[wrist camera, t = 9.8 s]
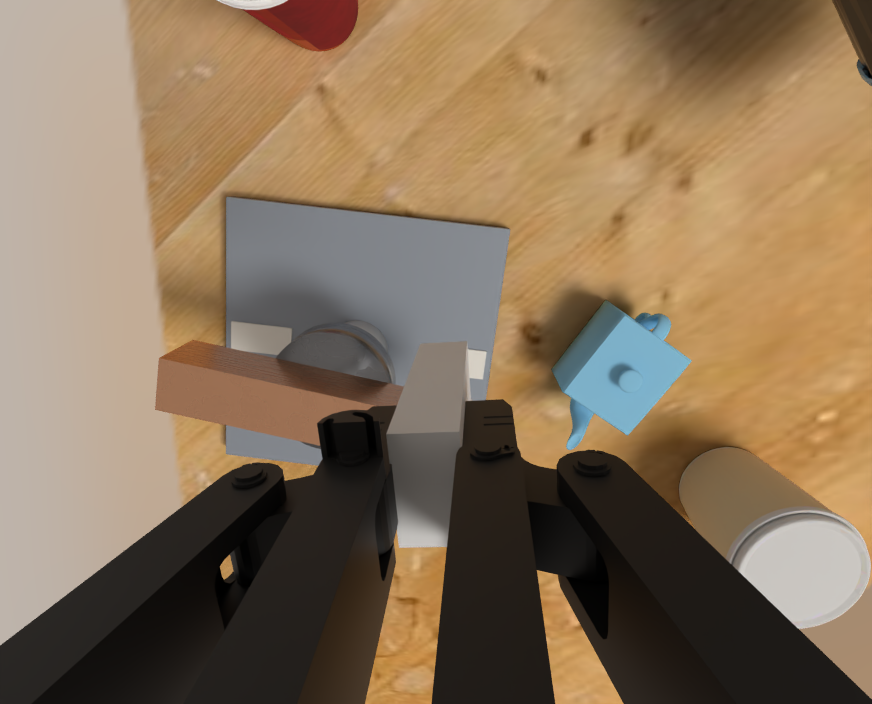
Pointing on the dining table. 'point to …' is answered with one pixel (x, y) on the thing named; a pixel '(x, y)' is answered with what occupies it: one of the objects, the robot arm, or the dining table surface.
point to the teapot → (617, 369)
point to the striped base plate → (357, 290)
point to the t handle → (279, 382)
